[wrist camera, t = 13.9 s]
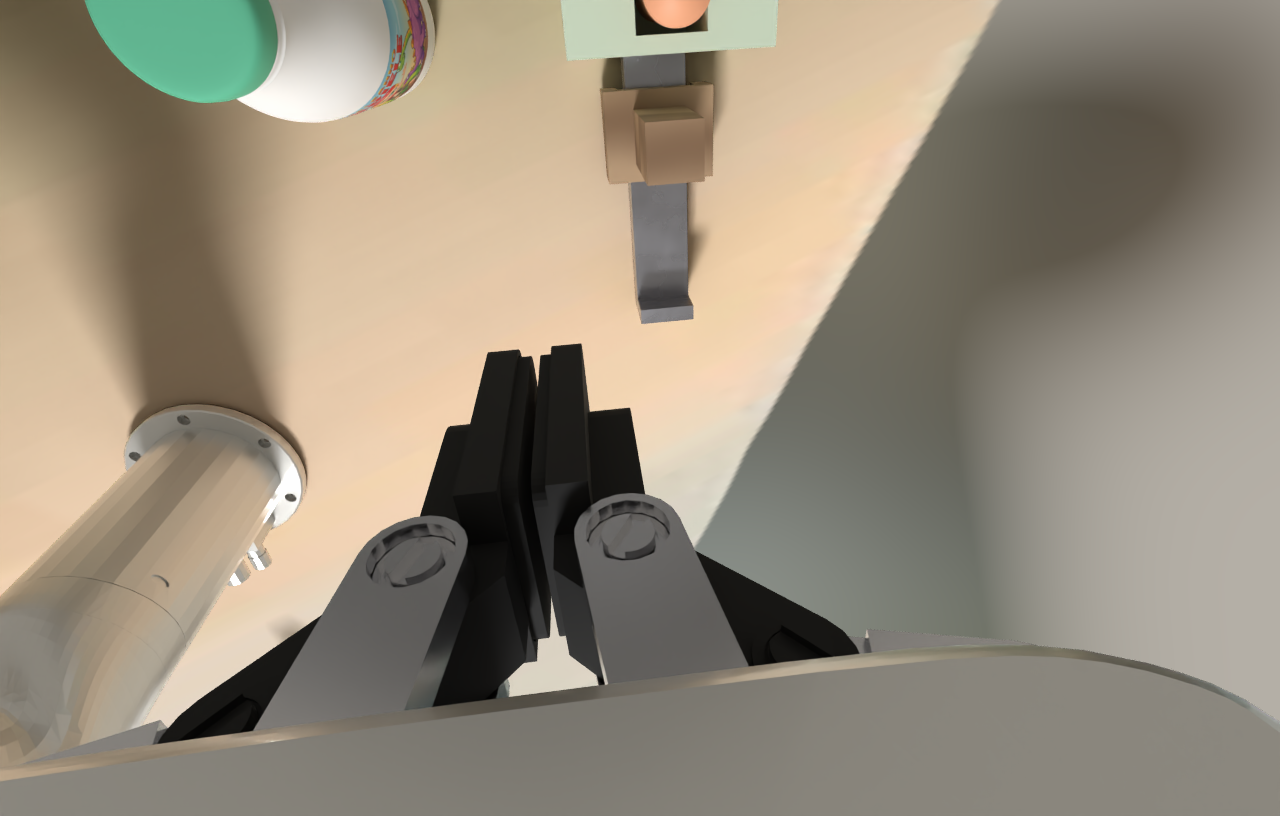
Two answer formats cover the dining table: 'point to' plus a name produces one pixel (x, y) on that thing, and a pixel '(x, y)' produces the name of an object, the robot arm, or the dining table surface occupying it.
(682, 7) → the gauge plunger
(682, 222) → the rail
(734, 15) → the cabinet
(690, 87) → the carriage
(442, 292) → the dining table surface
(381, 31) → the milk bottle
